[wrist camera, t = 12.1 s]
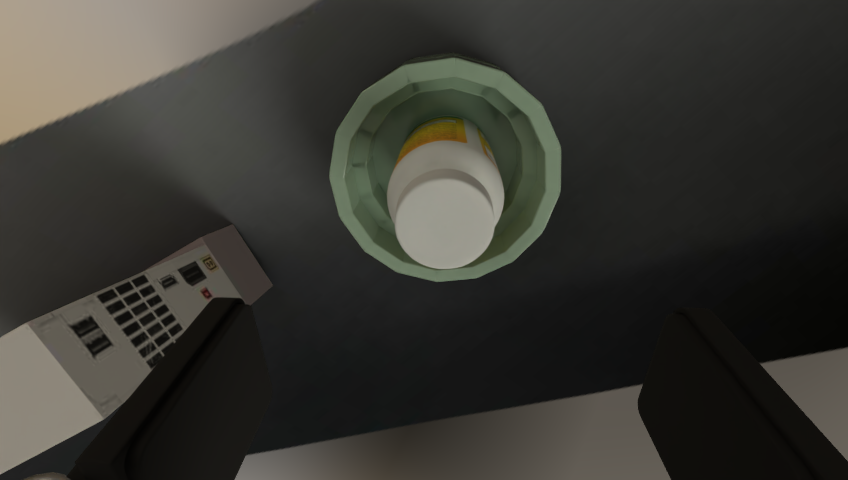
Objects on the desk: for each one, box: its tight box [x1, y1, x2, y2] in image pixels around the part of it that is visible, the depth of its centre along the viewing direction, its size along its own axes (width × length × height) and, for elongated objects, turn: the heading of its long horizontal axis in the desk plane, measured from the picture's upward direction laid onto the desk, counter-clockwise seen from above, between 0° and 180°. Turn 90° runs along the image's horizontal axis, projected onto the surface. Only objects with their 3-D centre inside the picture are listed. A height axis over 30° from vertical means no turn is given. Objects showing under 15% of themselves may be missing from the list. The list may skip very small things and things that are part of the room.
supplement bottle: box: [387, 115, 504, 269], centre depth 20 cm, size 5×5×10 cm
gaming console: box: [0, 224, 273, 474], centre depth 23 cm, size 23×8×20 cm, turn 120°
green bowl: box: [329, 52, 561, 282], centre depth 23 cm, size 12×12×5 cm
